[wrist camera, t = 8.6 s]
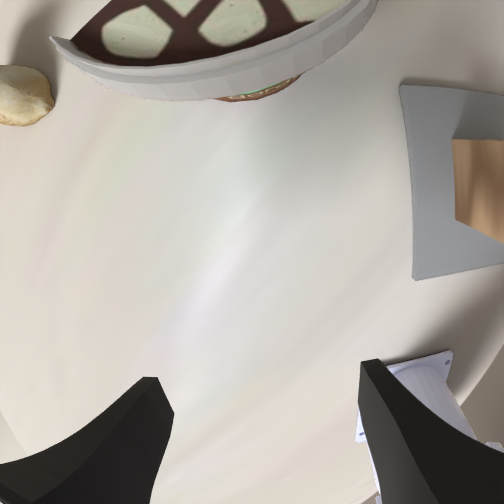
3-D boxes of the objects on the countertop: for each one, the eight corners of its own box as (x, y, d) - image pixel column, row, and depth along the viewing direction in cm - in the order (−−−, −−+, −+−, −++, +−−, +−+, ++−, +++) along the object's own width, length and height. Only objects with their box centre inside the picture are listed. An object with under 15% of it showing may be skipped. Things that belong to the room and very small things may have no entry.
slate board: (521, 254, 16) (525, 257, 16) (412, 277, 18) (415, 280, 17) (517, 100, 13) (522, 99, 12) (398, 86, 14) (402, 84, 13)
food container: (212, 167, 17) (134, 190, 7) (151, 91, 15) (37, 50, 6) (381, 53, 13) (471, -19, 4) (315, -18, 12) (341, -124, 3)
